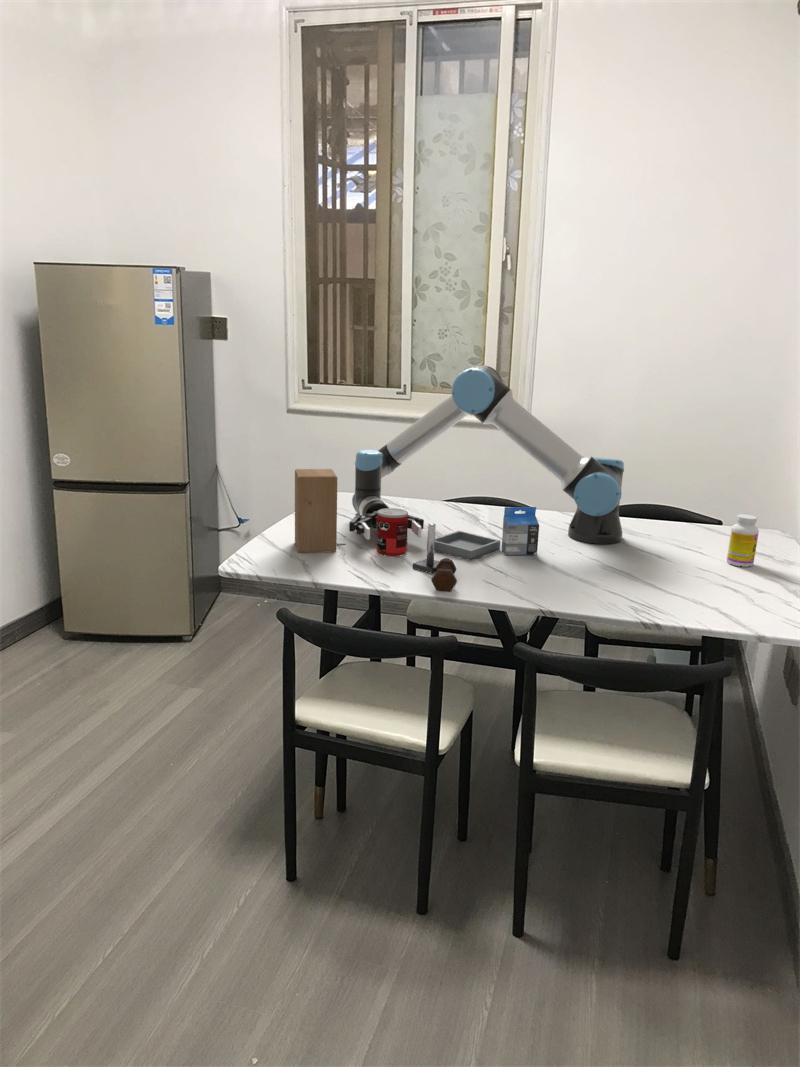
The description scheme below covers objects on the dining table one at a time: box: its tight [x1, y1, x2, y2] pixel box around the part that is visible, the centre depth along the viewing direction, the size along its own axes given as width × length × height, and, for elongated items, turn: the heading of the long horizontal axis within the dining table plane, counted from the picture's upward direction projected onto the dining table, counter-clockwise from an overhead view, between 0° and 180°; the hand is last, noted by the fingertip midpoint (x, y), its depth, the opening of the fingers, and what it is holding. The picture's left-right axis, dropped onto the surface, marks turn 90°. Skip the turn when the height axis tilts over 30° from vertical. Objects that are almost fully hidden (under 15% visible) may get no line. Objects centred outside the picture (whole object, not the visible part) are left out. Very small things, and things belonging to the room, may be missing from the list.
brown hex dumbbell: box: [430, 557, 458, 593], centre depth 185 cm, size 6×5×15 cm
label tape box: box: [501, 506, 540, 556], centre depth 208 cm, size 9×4×12 cm, turn 99°
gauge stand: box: [412, 522, 440, 574], centre depth 193 cm, size 6×6×11 cm
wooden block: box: [294, 468, 338, 553], centre depth 205 cm, size 10×10×20 cm
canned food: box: [375, 507, 409, 557], centre depth 204 cm, size 8×8×11 cm
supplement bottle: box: [725, 513, 760, 568], centre depth 206 cm, size 7×7×13 cm
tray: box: [434, 530, 502, 562], centre depth 210 cm, size 14×14×3 cm
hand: (394, 533), depth 202 cm, fingers open, 13 cm apart
